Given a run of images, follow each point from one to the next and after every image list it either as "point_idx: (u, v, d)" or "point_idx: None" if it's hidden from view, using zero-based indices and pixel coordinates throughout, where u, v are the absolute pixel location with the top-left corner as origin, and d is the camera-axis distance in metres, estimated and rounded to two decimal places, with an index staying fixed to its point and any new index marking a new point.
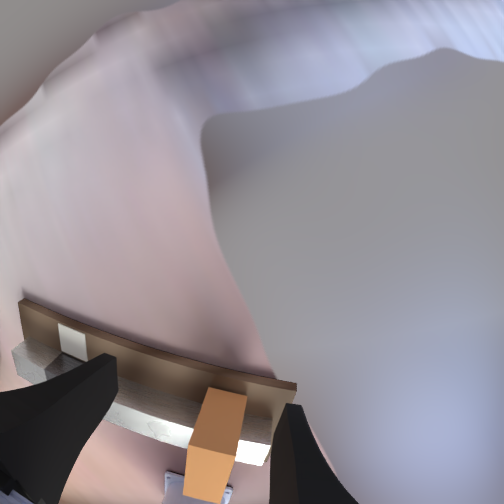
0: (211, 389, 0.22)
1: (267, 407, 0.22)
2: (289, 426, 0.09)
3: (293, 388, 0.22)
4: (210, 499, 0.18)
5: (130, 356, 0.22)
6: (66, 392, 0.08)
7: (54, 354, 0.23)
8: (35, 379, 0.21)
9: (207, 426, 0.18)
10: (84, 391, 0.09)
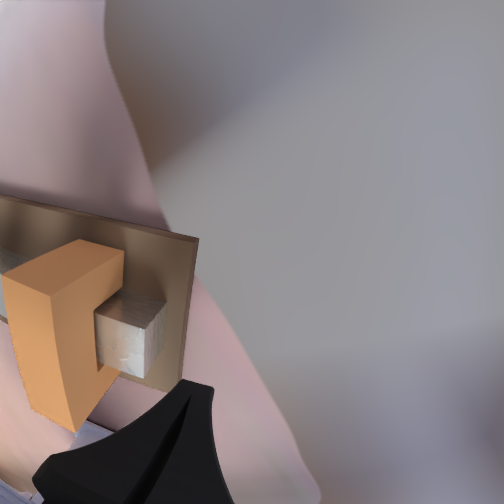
0: (80, 241, 0.15)
1: (156, 278, 0.16)
2: (188, 404, 0.10)
3: (191, 240, 0.15)
4: (61, 420, 0.11)
5: (11, 211, 0.16)
6: (164, 432, 0.08)
7: None
8: None
9: (42, 264, 0.11)
10: (175, 425, 0.09)
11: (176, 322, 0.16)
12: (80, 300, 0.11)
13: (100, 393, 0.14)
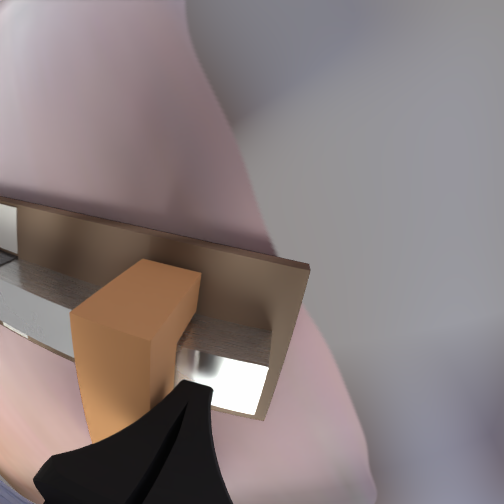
0: (145, 261, 0.14)
1: (263, 307, 0.15)
2: (188, 404, 0.10)
3: (305, 267, 0.14)
4: None
5: (64, 228, 0.15)
6: (165, 432, 0.08)
7: None
8: None
9: (117, 295, 0.11)
10: (177, 426, 0.09)
11: (279, 351, 0.15)
12: (170, 336, 0.11)
13: None
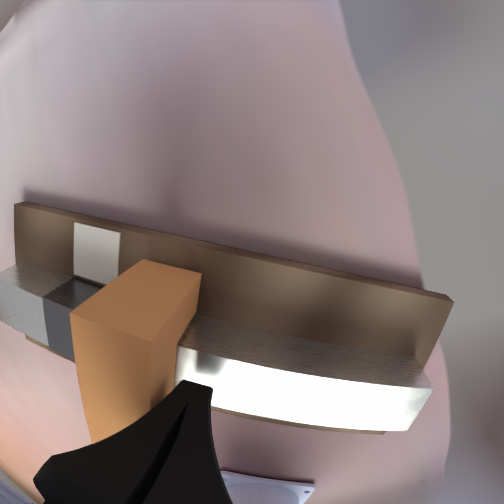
0: (146, 261, 0.14)
1: (413, 335, 0.14)
2: (187, 404, 0.10)
3: (448, 299, 0.14)
4: None
5: (201, 262, 0.15)
6: (165, 432, 0.08)
7: (61, 280, 0.15)
8: (26, 322, 0.14)
9: (117, 295, 0.11)
10: (177, 426, 0.09)
11: None
12: (170, 336, 0.11)
13: None
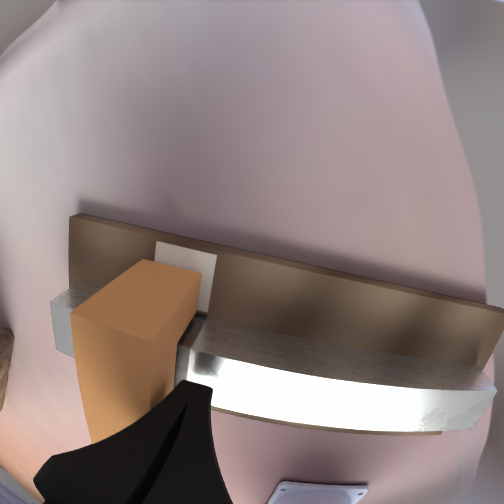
0: (146, 261, 0.14)
1: (477, 345, 0.14)
2: (188, 404, 0.10)
3: None
4: None
5: (307, 286, 0.14)
6: (165, 432, 0.08)
7: None
8: None
9: (117, 295, 0.11)
10: (177, 426, 0.09)
11: None
12: (170, 336, 0.11)
13: None
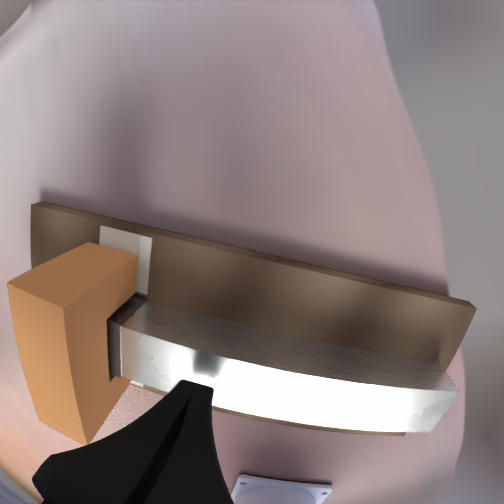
0: (90, 244, 0.14)
1: (438, 340, 0.14)
2: (188, 404, 0.10)
3: (471, 306, 0.14)
4: (71, 434, 0.11)
5: (239, 269, 0.14)
6: (164, 432, 0.08)
7: None
8: None
9: (51, 271, 0.11)
10: (176, 425, 0.09)
11: None
12: (93, 310, 0.11)
13: (112, 403, 0.14)
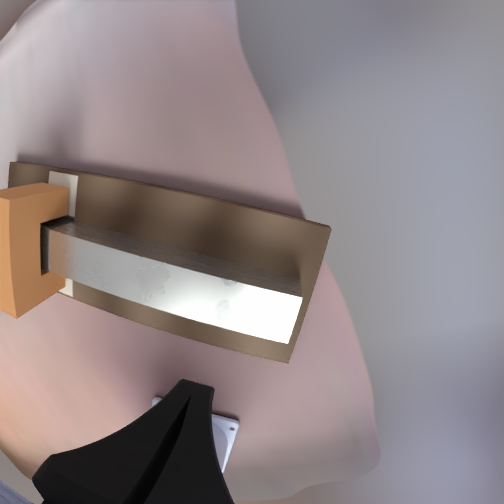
0: (42, 183, 0.19)
1: (294, 257, 0.19)
2: (188, 404, 0.10)
3: (327, 227, 0.19)
4: (8, 308, 0.16)
5: (127, 193, 0.19)
6: (164, 432, 0.08)
7: None
8: None
9: (11, 190, 0.15)
10: (176, 425, 0.09)
11: (305, 295, 0.20)
12: (30, 211, 0.16)
13: (42, 296, 0.18)
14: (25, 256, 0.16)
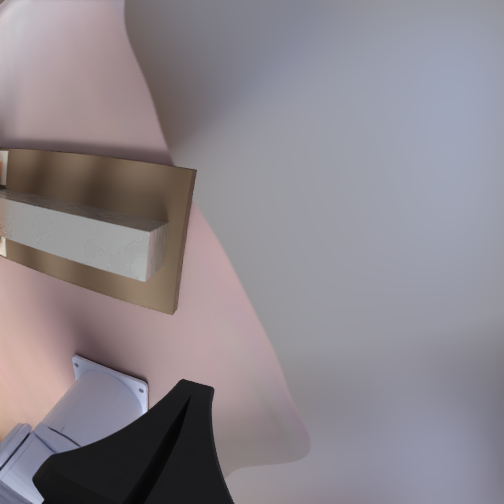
0: None
1: (161, 201, 0.19)
2: (188, 404, 0.10)
3: (190, 169, 0.19)
4: None
5: (38, 159, 0.19)
6: (164, 432, 0.08)
7: None
8: None
9: None
10: (175, 425, 0.09)
11: (175, 240, 0.20)
12: None
13: None
14: None
